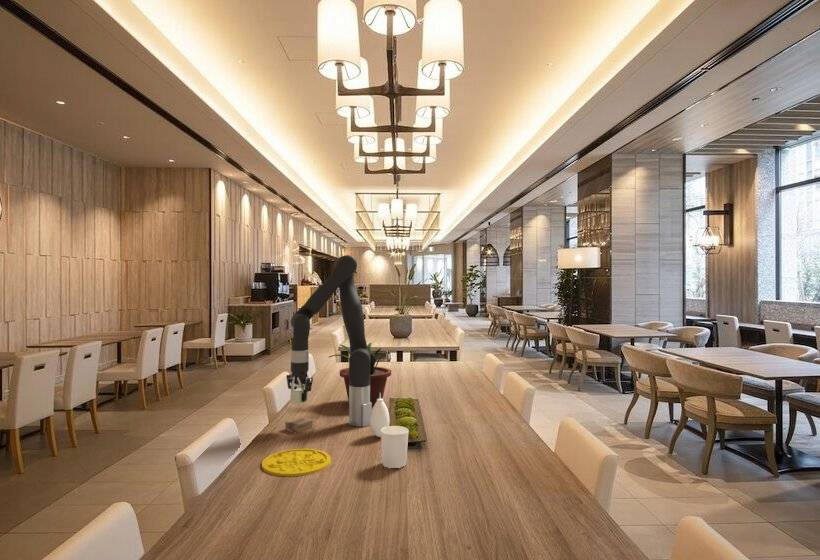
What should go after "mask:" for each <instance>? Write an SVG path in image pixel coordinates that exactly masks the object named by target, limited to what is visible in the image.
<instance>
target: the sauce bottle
mask: <svg viewBox="0 0 820 560" xmlns="http://www.w3.org/2000/svg"><path fill="white" fill-rule="evenodd" d="M369 425H370V429H371V432H372V433H373V435H374V436H376V437H377V438H381V429H382V428H384V427H387V426H390V413H389V410H388V407H387V405H386V403H385V402H384V398H383V399H381V394H380V398H379V399H377V402H376V403H375V405H374V407H373V408H372V413H371V418H370V424H369Z"/></svg>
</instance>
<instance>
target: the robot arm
mask: <svg viewBox="0 0 820 560" xmlns="http://www.w3.org/2000/svg"><path fill="white" fill-rule="evenodd" d="M357 268H358V262H357V260H356V258H355V257H354V256H353V255H349V254H346V255H342V256H339V257H338V258H336V259H335V260H334V264H333V271H332V272H331V273H330V274H329V276H328V277H327V278H326V279H325V281H323V282H322V284H320V285H319V286H318V288H316V289H315V290H314V292H313V293H312V294H311V295H310V296H309V298H308V299H307V300H306V302H305V303H304V304H303V305H302V306H301V307H300V308H299V309H298V310H297V311H296V312H295V313H294V314H293V316H292V317H291V319H290V325H291V328H293V337H291V352H290V372H291V374H287V375H286V376H285V377H286V383H287V384H286V385H287V388H288V389H289V390H290V391H291V390H294V389H298V387H299V388H301V391H302V398H301V401H302V402H304V401H306V400H307V392H308V393H309V392H311V391H312V386H313V380H314V378H313V377H309V375H308V372H309V367H310V366H309V365H310V364H309V363H310V362H309V361H310V360H309V359H310V357H309V356H310V355H309V336H310V330H311V321H310V320H311V319H312V318H313V317H314V316H316V315H318V314H319V312H320V311H321V310H322V309H323V308H324V306H325V305H326V304H327V303H328V301H329V300H330V298H331V297H332V296H333V294H334V293H335V292H337V289H339V299H340V300H339V301H340V308H341V309H340V310H341V315H342V320H343V324H344V327H345V331H346V335H347V336H348V341H349V349H350V354H349V359H348V360H349V361H348V368H349V401H348V424H349V426H352V427H363V428H364V427H366V426H368V425H370V418H371V413H372V409H373V408H372V402H370V356H371V353H370V354H369V351H368V347H367V345H368V344H367V340H366V334H365V331H366V329H365V318H364V317H365V316H364V310H363V306H362V301H361V298H360V296H359V293H358V291H357V289H356V285H355V279H354V273H355V272H356V271H357ZM304 389H305V390H304ZM304 403H305V402H304Z"/></svg>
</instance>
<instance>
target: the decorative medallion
mask: <svg viewBox="0 0 820 560" xmlns="http://www.w3.org/2000/svg"><path fill="white" fill-rule="evenodd" d="M331 463H332V457H331V455H330V454H329V453H327V452H325V451H323V450H318V449H313V448H292V449H286V450H282V451H278V452H274V453H273V454H270V455H268V456H266V457H265V458H264V459H263V460H262V462H261V469H262V470H263V471H264V472H266V473H267V474H269V475H272V476H277V477H300V476H301V477H302V476H308V475H312V474H315V473H316V474H317V473H318V472H321V471H323V470H325V469H327V468H328V467H329V466H330V465H331Z"/></svg>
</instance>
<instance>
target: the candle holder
mask: <svg viewBox="0 0 820 560" xmlns="http://www.w3.org/2000/svg"><path fill="white" fill-rule="evenodd" d="M409 432H410V430H409V429H408V428H407V427H406V426H400V425H389V426H387V427H384V428H382V429H381V437H380V442H381V462H382V463H381V464H382V466H383V467H384V468H386V467H388V468H387V469H390V468H399V469H401V468H400V467H403V466H404V467H405V465H407V460H408V459H407V458H408V447H409V446H408V442H409ZM404 467H403V468H404Z"/></svg>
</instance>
